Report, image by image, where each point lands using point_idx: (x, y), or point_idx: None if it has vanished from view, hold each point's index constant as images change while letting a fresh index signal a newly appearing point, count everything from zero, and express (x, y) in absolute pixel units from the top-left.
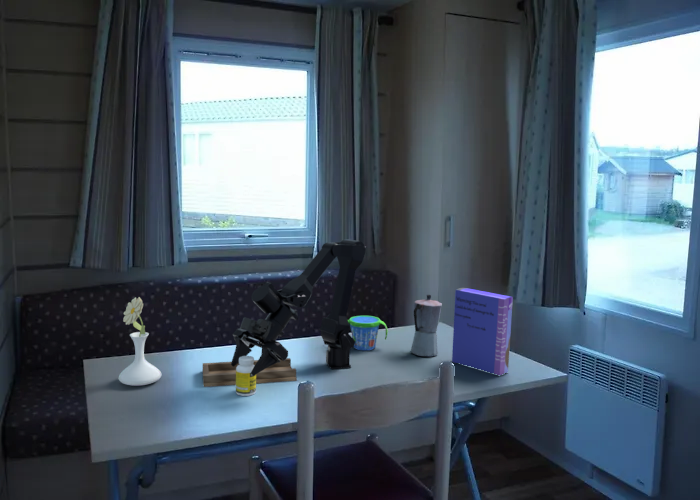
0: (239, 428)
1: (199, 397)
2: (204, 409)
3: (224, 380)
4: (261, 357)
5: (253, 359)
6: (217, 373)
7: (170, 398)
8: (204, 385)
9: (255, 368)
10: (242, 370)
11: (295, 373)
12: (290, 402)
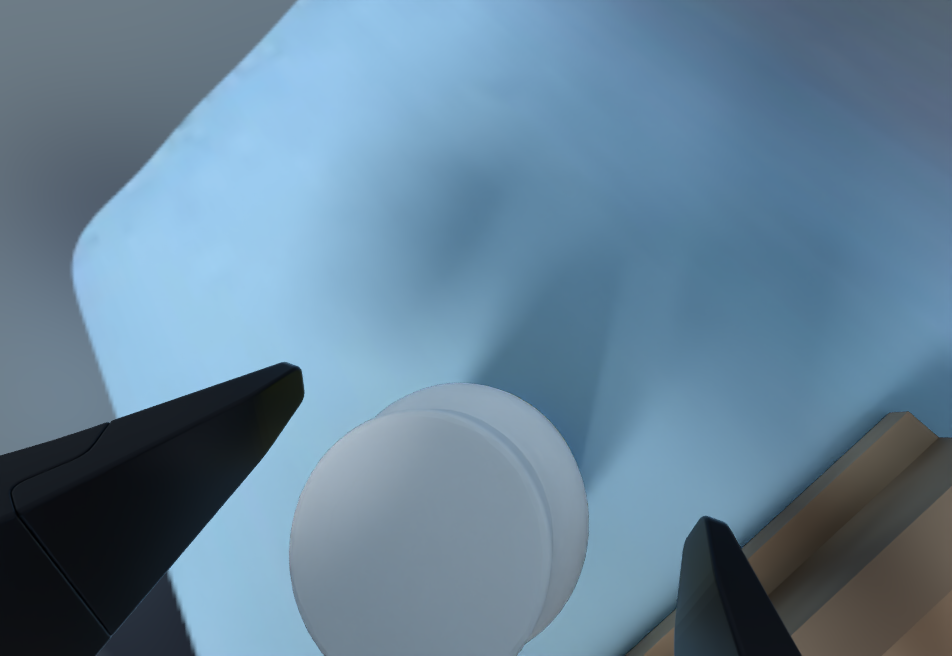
0: (254, 64)
1: (733, 234)
2: (555, 118)
3: (803, 571)
4: (12, 484)
5: (299, 582)
6: (940, 586)
7: (899, 115)
8: (893, 416)
9: (213, 388)
10: (428, 390)
11: None
12: None
